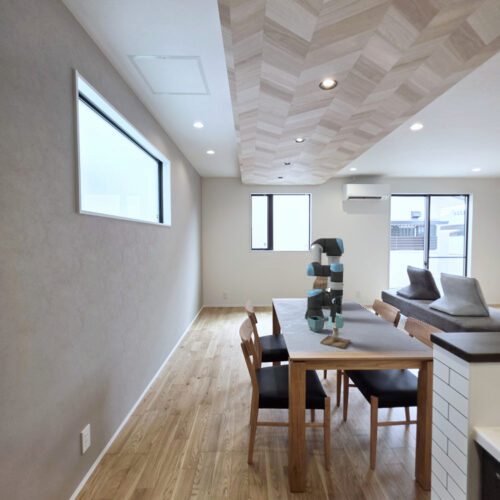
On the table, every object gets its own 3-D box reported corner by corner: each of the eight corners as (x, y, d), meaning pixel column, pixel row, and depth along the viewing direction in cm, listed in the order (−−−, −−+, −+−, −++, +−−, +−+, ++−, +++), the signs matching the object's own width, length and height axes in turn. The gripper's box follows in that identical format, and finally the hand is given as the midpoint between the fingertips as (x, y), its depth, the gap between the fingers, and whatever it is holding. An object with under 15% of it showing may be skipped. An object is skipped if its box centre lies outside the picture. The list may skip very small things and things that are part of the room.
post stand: (320, 343, 163) (320, 328, 162) (328, 337, 174) (328, 323, 174) (343, 349, 155) (344, 333, 154) (350, 341, 166) (350, 327, 166)
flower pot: (315, 333, 180) (315, 320, 180) (306, 330, 188) (306, 317, 188) (325, 332, 184) (325, 319, 184) (316, 328, 192) (316, 315, 192)
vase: (308, 304, 263) (309, 274, 263) (334, 304, 266) (335, 274, 265) (318, 311, 237) (318, 277, 237) (346, 311, 240) (347, 277, 239)
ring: (327, 326, 163) (327, 316, 163) (331, 323, 170) (331, 314, 169) (340, 329, 158) (340, 319, 158) (344, 326, 165) (344, 316, 165)
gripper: (337, 291, 153) (336, 331, 153) (347, 287, 170) (346, 323, 170) (324, 290, 157) (323, 329, 158) (335, 286, 174) (335, 321, 175)
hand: (335, 325), depth 164 cm, fingers closed on ring, 8 cm apart
